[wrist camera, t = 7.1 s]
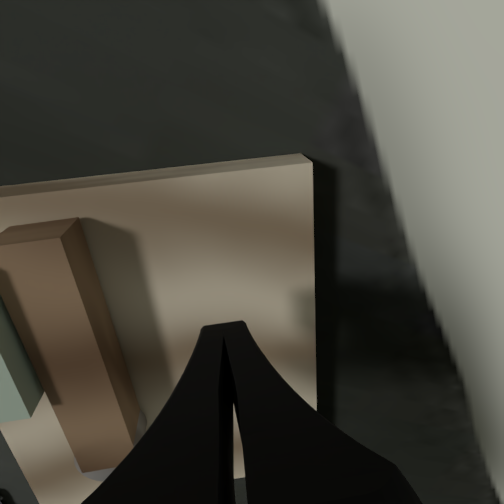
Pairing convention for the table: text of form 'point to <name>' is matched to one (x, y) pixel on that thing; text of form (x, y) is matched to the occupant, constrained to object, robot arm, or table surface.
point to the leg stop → (16, 374)
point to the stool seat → (180, 282)
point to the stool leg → (71, 341)
